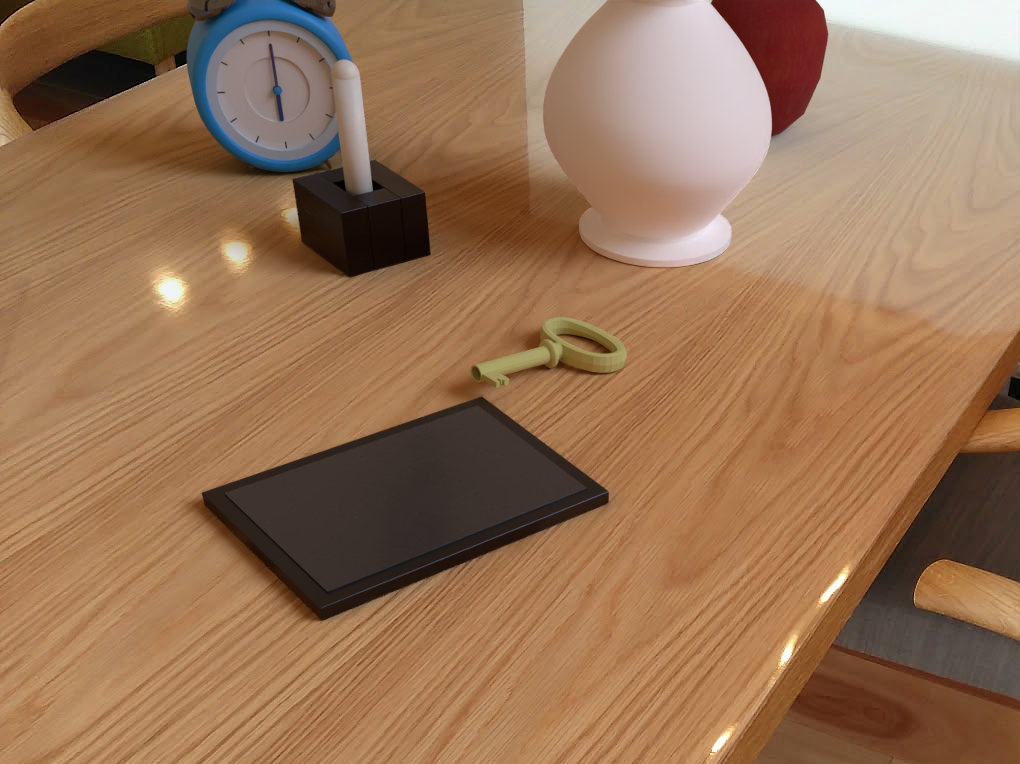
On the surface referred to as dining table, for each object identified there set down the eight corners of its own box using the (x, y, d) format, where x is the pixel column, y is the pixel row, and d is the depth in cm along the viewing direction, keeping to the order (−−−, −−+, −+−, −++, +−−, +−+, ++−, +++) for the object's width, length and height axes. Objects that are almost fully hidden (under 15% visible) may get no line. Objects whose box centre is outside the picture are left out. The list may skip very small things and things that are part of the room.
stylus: (361, 256, 113) (338, 67, 103) (348, 246, 114) (324, 58, 104) (384, 250, 114) (363, 62, 104) (370, 241, 115) (348, 53, 105)
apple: (735, 95, 144) (744, -54, 134) (840, 123, 140) (856, -28, 131) (673, 131, 136) (678, -25, 127) (783, 162, 132) (796, 4, 123)
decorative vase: (536, 189, 124) (525, -148, 107) (740, 187, 127) (761, -139, 110) (558, 285, 112) (549, -79, 94) (783, 280, 115) (814, -71, 98)
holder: (349, 277, 110) (341, 212, 106) (301, 242, 114) (291, 178, 110) (431, 254, 114) (425, 191, 110) (382, 221, 117) (375, 159, 114)
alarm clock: (209, 181, 120) (171, -17, 110) (203, 152, 124) (166, -41, 114) (370, 171, 124) (348, -21, 114) (358, 143, 128) (336, -45, 118)
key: (465, 395, 99) (463, 367, 97) (559, 324, 107) (559, 297, 106) (556, 425, 97) (555, 397, 96) (645, 351, 105) (645, 324, 104)
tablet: (322, 621, 81) (319, 606, 80) (203, 504, 88) (200, 490, 87) (609, 503, 91) (609, 489, 90) (482, 407, 98) (481, 394, 97)
